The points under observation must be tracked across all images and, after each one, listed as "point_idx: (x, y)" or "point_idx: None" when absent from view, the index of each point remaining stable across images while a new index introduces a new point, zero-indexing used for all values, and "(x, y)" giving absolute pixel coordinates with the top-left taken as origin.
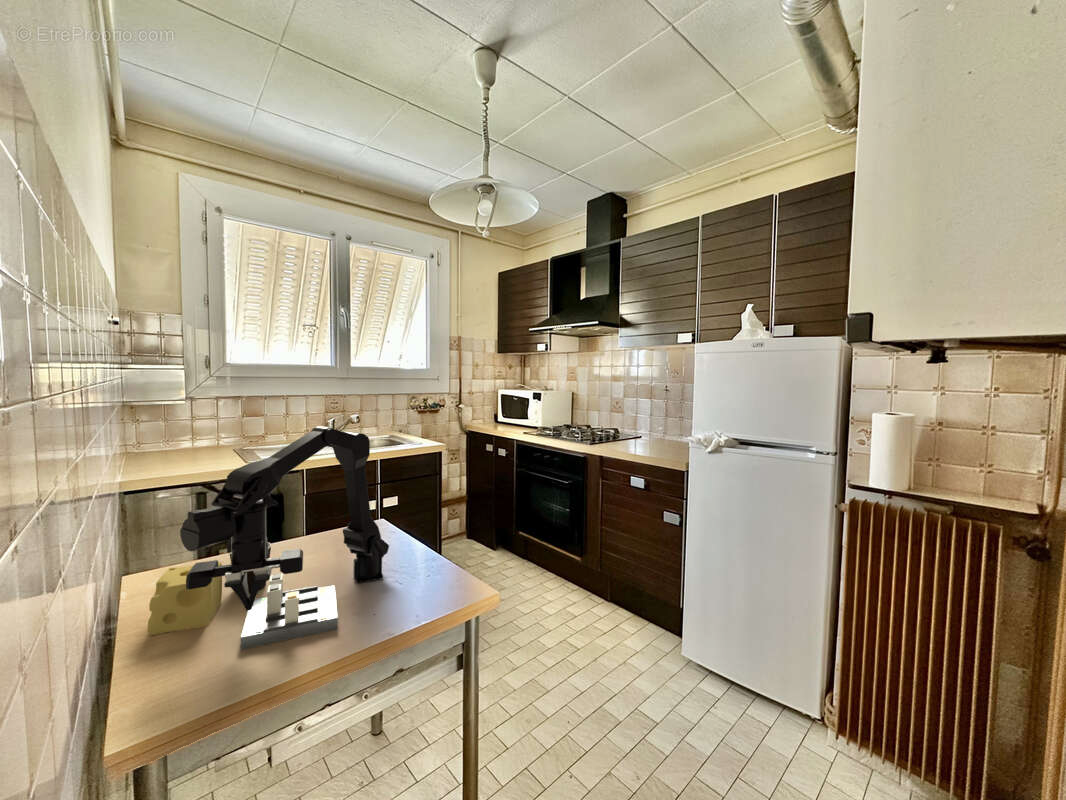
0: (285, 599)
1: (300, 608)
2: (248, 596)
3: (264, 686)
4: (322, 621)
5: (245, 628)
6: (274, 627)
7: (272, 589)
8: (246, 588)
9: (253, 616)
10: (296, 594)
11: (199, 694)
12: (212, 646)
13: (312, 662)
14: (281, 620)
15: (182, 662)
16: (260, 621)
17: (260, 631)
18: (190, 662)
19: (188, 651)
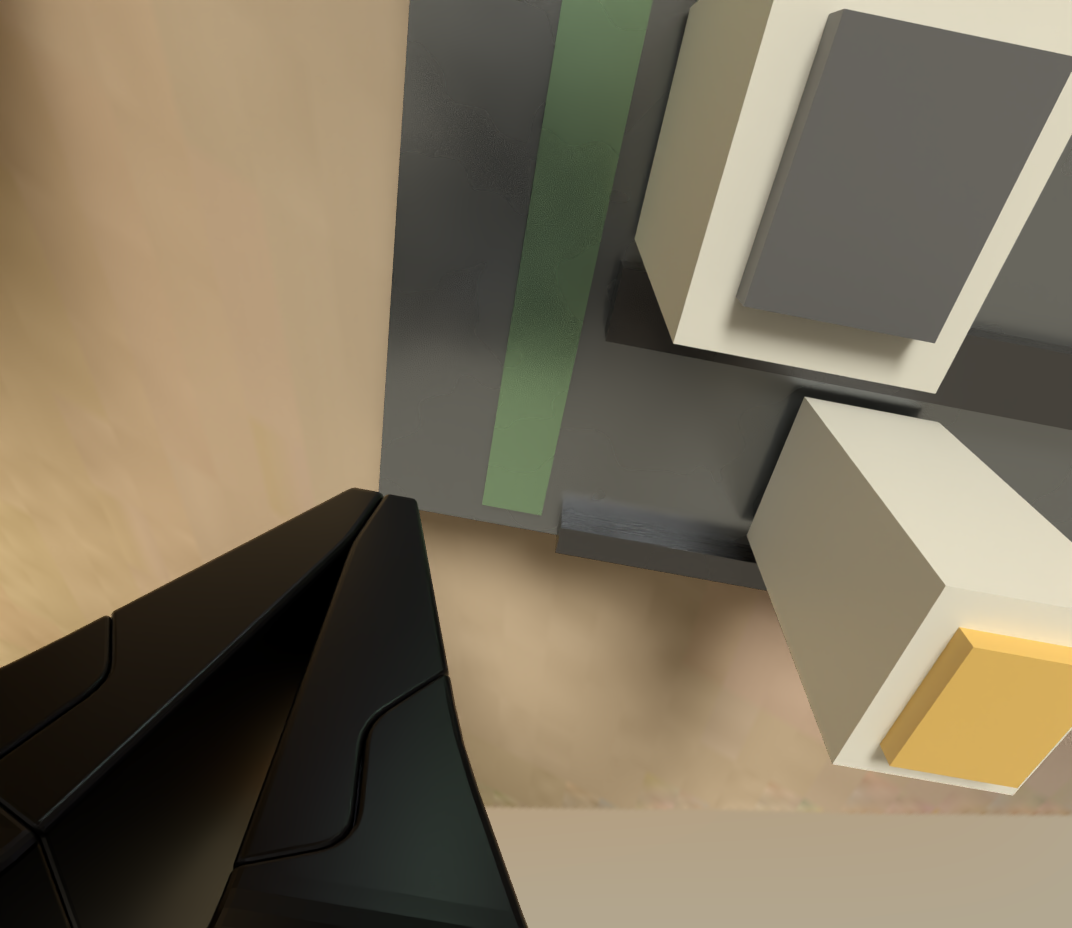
0: (850, 745)
1: (1029, 255)
2: (298, 656)
3: (528, 800)
4: None
5: (409, 372)
6: (650, 564)
7: (801, 316)
8: (158, 887)
9: (489, 117)
10: (1046, 746)
11: None
12: (184, 257)
13: (774, 774)
14: (747, 413)
15: (31, 368)
16: (552, 327)
17: (536, 512)
18: (90, 401)
19: (5, 222)
